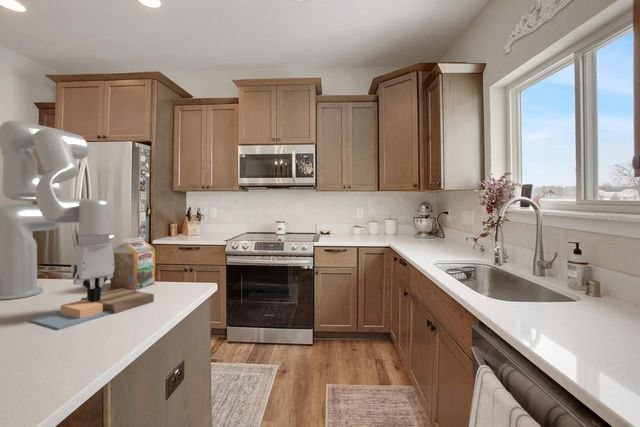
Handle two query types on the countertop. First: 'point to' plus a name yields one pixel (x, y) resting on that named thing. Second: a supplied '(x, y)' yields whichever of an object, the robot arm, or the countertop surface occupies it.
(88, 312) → the tile
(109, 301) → the stand
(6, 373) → the countertop surface
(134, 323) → the countertop surface
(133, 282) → the milk carton
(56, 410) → the countertop surface
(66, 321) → the mat
